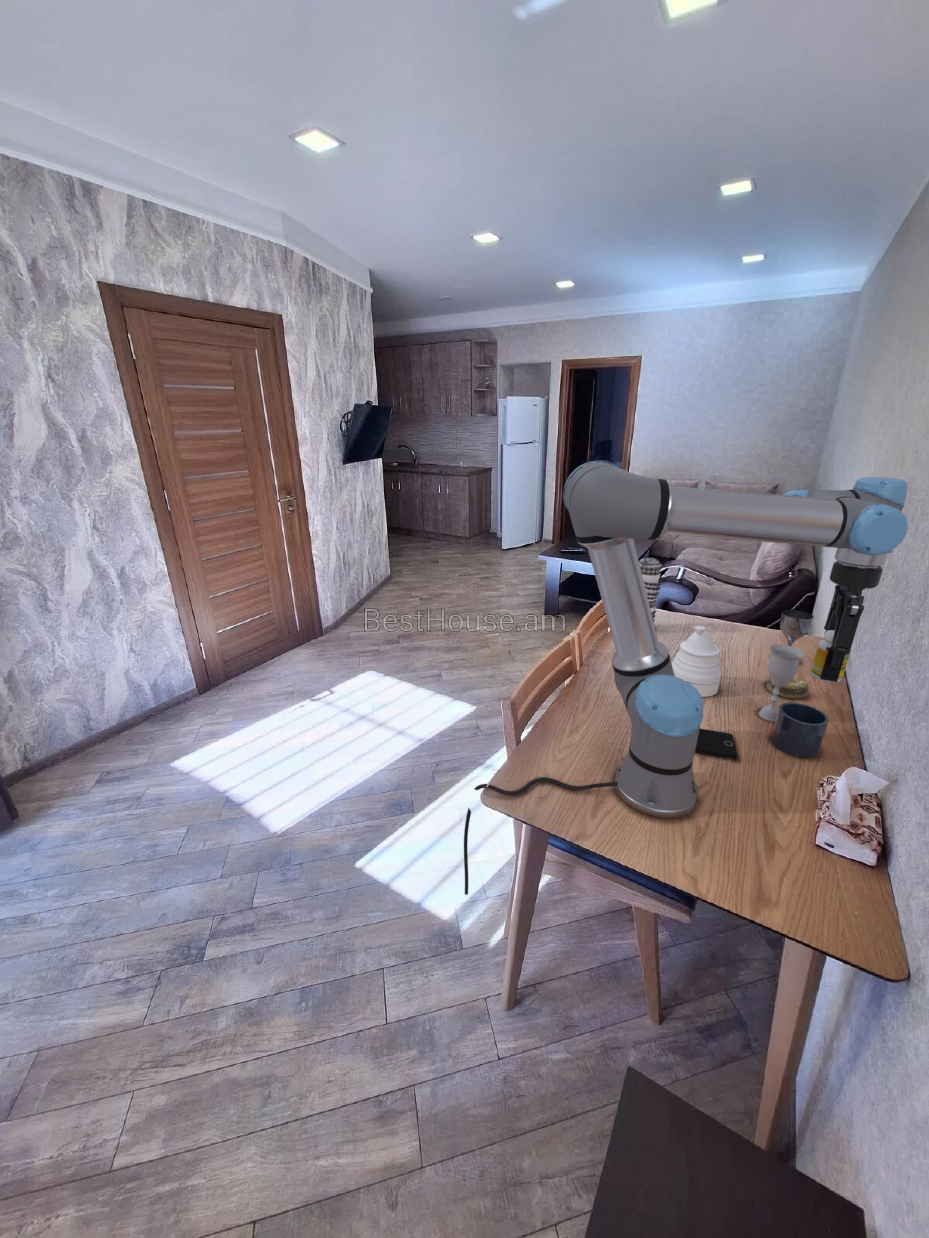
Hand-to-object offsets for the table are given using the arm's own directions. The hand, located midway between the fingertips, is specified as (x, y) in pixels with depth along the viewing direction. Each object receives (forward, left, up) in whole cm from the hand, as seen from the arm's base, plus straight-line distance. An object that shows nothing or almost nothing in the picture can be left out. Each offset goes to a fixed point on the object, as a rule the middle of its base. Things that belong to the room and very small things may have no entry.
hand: (826, 673), depth 102 cm
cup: (+2, +4, -21) cm, 21 cm away
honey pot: (0, +34, -21) cm, 40 cm away
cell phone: (-19, +13, -21) cm, 31 cm away
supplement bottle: (0, 0, -1) cm, 1 cm away
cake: (+22, +23, -21) cm, 38 cm away
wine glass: (+38, +37, -21) cm, 57 cm away
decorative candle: (+12, +73, -21) cm, 77 cm away
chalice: (+7, +15, -21) cm, 27 cm away
